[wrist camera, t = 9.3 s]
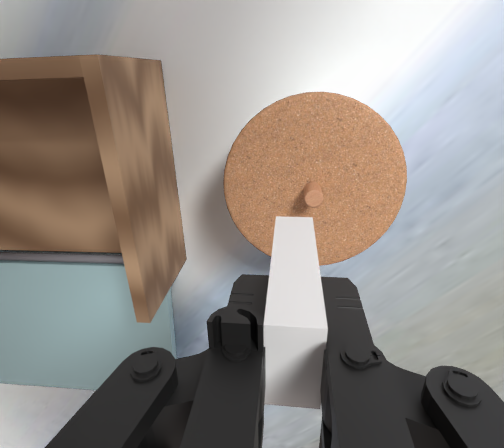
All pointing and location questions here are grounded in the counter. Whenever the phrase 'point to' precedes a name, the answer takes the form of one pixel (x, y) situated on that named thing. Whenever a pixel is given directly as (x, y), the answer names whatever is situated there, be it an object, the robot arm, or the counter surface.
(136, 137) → the open wooden tray
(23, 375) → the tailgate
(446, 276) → the counter surface
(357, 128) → the lidded jar
